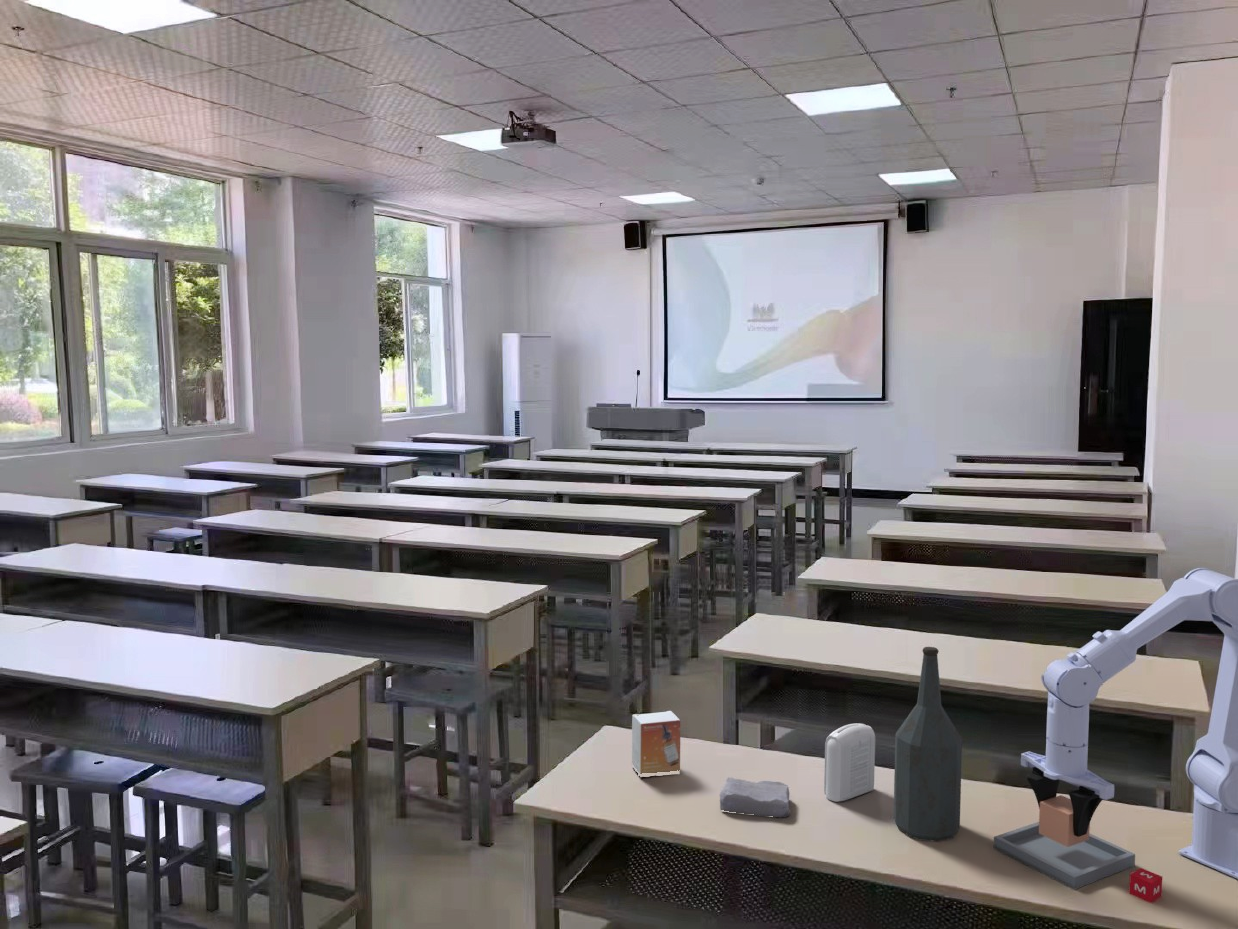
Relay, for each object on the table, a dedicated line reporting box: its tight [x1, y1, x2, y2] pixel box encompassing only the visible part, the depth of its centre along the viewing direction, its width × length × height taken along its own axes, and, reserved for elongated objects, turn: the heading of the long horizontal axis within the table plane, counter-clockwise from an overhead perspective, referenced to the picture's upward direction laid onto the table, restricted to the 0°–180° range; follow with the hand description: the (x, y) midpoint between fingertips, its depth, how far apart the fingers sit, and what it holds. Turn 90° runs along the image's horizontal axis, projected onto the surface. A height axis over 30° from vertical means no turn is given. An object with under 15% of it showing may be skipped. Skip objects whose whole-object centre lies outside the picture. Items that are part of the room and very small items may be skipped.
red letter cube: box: [1128, 867, 1163, 904], centre depth 134 cm, size 3×3×3 cm
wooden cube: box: [1038, 794, 1091, 847], centre depth 144 cm, size 5×5×5 cm
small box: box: [631, 710, 682, 774], centre depth 177 cm, size 8×6×10 cm
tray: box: [993, 821, 1136, 890], centre depth 145 cm, size 14×14×2 cm
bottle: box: [893, 646, 963, 842], centre depth 153 cm, size 10×10×30 cm
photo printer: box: [823, 722, 876, 803], centre depth 167 cm, size 10×4×12 cm, turn 126°
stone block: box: [719, 777, 790, 818], centre depth 163 cm, size 12×5×10 cm
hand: (1063, 827), depth 144 cm, fingers closed on wooden cube, 5 cm apart
